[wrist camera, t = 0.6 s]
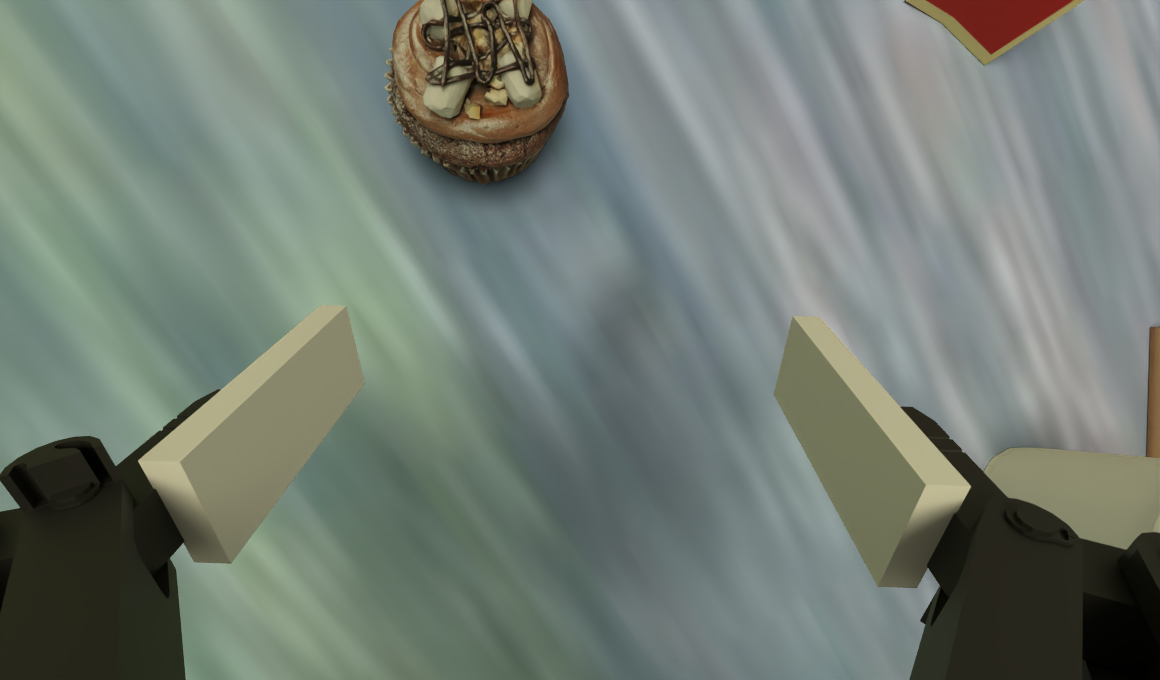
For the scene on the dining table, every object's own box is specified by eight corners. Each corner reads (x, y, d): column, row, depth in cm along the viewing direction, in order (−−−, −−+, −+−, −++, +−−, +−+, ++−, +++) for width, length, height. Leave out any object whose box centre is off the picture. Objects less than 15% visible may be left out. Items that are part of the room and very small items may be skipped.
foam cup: (1044, 401, 35) (1346, 436, 22) (1100, 514, 35) (1429, 614, 22) (935, 468, 34) (1182, 545, 21) (993, 583, 34) (1271, 728, 21)
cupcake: (533, 29, 32) (533, -115, 22) (580, 174, 32) (602, 97, 22) (386, 69, 31) (316, -63, 21) (436, 217, 31) (390, 158, 21)
